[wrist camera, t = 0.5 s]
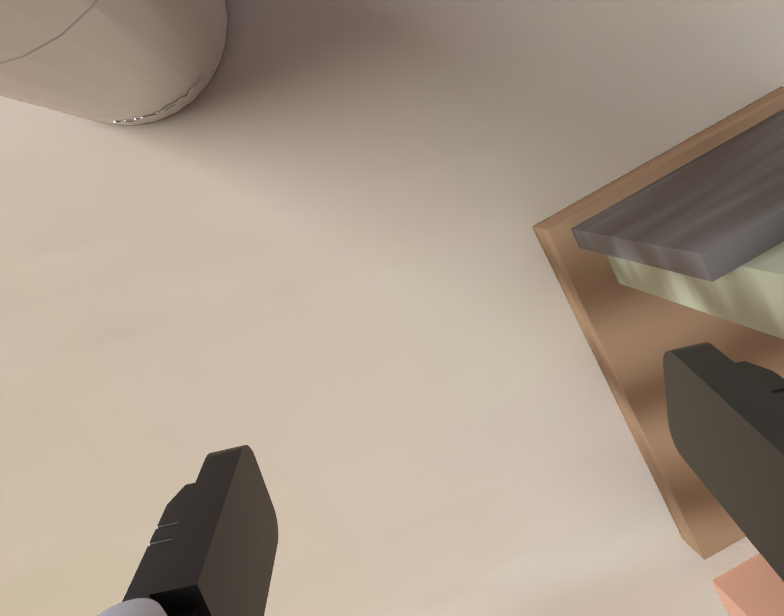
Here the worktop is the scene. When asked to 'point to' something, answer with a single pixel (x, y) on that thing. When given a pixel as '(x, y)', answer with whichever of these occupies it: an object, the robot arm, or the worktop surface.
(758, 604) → the terracotta book
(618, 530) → the worktop surface
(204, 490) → the robot arm
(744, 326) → the shelf ledge
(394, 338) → the worktop surface
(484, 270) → the worktop surface
